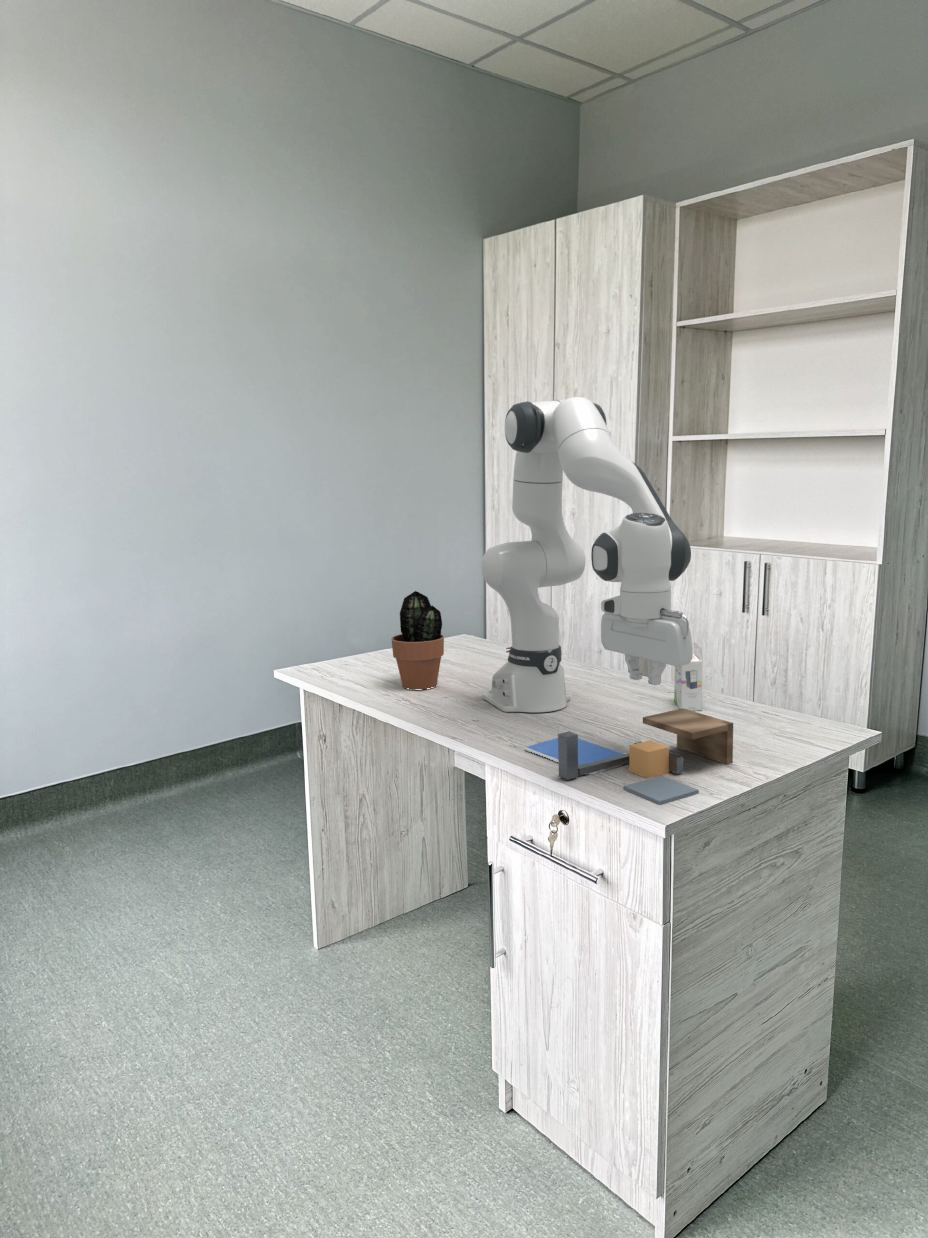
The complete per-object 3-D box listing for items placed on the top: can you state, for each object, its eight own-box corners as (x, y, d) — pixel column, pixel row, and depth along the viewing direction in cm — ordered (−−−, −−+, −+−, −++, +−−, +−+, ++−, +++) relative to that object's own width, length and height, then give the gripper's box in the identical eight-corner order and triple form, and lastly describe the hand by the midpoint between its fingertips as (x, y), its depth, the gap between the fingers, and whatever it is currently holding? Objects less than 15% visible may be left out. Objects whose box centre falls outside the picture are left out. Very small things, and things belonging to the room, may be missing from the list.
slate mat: (623, 789, 157) (623, 785, 157) (661, 778, 161) (661, 775, 161) (659, 804, 149) (659, 801, 149) (698, 793, 154) (698, 789, 154)
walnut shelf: (642, 755, 174) (642, 717, 173) (682, 745, 180) (682, 708, 178) (692, 774, 163) (692, 733, 162) (732, 762, 169) (733, 723, 167)
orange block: (629, 771, 166) (629, 745, 165) (649, 766, 169) (649, 740, 168) (648, 778, 162) (648, 752, 161) (668, 773, 164) (668, 747, 164)
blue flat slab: (637, 763, 172) (637, 756, 172) (589, 778, 165) (589, 771, 164) (569, 740, 187) (568, 734, 187) (522, 753, 180) (522, 746, 180)
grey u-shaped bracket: (558, 776, 163) (558, 733, 162) (638, 755, 173) (638, 715, 172) (600, 795, 154) (600, 750, 152) (682, 772, 163) (683, 729, 162)
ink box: (673, 701, 212) (673, 640, 210) (694, 701, 212) (694, 639, 210) (680, 711, 204) (681, 647, 201) (702, 711, 204) (703, 647, 201)
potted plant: (388, 693, 229) (384, 595, 225) (399, 680, 243) (394, 588, 238) (441, 693, 227) (438, 595, 223) (449, 680, 241) (445, 587, 237)
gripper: (701, 610, 152) (700, 690, 155) (620, 597, 170) (621, 669, 172) (674, 615, 149) (673, 696, 151) (594, 601, 166) (595, 674, 169)
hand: (645, 681), depth 162 cm, fingers open, 3 cm apart
